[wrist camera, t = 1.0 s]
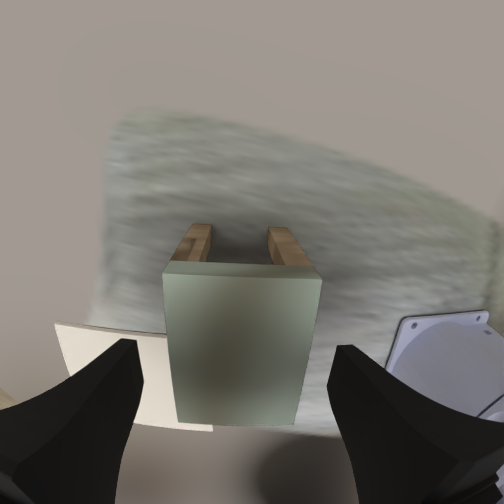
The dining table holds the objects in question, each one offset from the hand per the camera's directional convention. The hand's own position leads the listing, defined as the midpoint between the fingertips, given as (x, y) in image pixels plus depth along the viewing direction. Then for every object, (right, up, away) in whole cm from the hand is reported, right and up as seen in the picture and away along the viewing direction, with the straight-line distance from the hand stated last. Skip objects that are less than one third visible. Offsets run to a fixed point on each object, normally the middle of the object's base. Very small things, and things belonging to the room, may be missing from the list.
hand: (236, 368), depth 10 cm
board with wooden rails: (0, +2, +7) cm, 7 cm away
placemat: (-8, -5, +9) cm, 13 cm away
